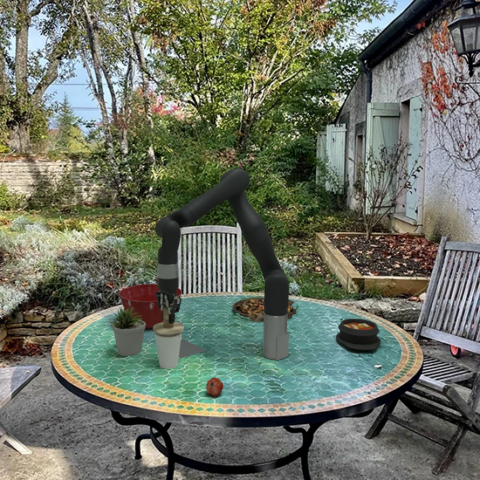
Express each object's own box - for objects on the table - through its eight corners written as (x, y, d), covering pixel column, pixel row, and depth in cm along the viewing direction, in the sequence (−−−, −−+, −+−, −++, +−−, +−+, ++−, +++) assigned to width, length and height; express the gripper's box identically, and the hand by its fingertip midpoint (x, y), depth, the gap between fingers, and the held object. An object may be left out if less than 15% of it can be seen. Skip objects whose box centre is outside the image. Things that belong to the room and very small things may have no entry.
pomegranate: (209, 394, 159) (198, 388, 154) (217, 378, 161) (206, 371, 155) (222, 401, 156) (211, 395, 150) (230, 385, 158) (220, 378, 152)
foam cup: (182, 361, 181) (182, 328, 179) (180, 372, 172) (180, 337, 170) (157, 361, 180) (157, 328, 178) (153, 372, 171) (153, 337, 169)
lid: (189, 330, 173) (189, 308, 172) (163, 337, 166) (163, 314, 165) (172, 322, 181) (172, 301, 180) (147, 328, 174) (146, 307, 173)
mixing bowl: (189, 330, 215) (189, 296, 212) (124, 337, 204) (123, 302, 202) (174, 312, 240) (173, 282, 238) (115, 317, 230) (114, 286, 228)
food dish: (281, 330, 221) (281, 313, 219) (220, 318, 237) (219, 303, 236) (309, 308, 251) (310, 294, 249) (253, 299, 267) (253, 286, 266)
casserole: (386, 355, 190) (387, 335, 189) (338, 353, 192) (339, 333, 190) (374, 333, 215) (376, 315, 213) (332, 331, 216) (333, 313, 215)
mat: (206, 352, 190) (206, 350, 190) (181, 360, 182) (181, 358, 182) (183, 340, 202) (183, 339, 202) (158, 347, 194) (158, 345, 194)
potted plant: (108, 349, 192) (107, 300, 188) (143, 345, 196) (142, 297, 193) (111, 361, 180) (110, 309, 177) (148, 356, 185) (147, 306, 182)
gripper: (188, 277, 168) (188, 324, 171) (166, 270, 178) (166, 315, 181) (170, 280, 163) (170, 329, 166) (148, 273, 173) (149, 319, 176)
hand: (168, 321), depth 173 cm, fingers closed on lid, 3 cm apart
